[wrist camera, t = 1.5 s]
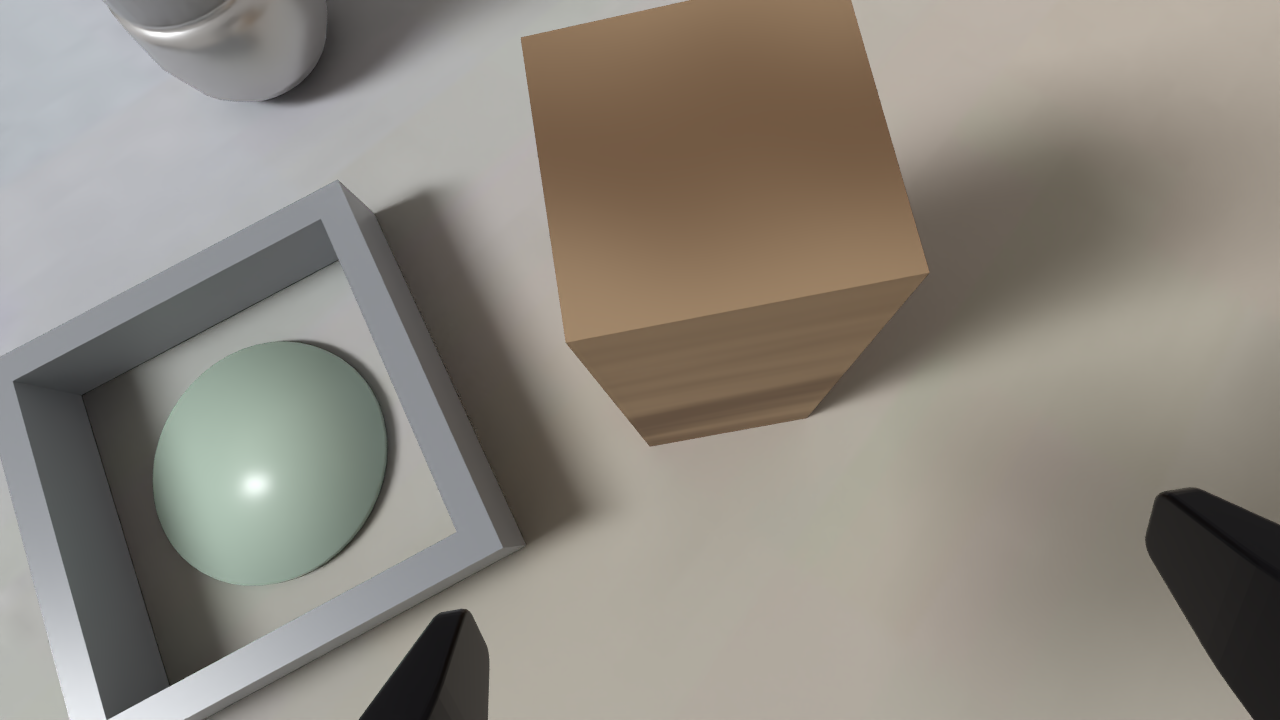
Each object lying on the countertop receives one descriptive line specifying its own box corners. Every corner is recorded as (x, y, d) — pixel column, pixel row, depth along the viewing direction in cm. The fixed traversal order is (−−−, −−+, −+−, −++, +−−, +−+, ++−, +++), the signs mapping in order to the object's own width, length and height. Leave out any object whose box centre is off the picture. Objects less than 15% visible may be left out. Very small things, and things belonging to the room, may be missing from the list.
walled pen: (526, 545, 22) (503, 547, 20) (153, 746, 22) (83, 773, 19) (373, 212, 25) (337, 179, 23) (48, 384, 25) (-23, 369, 23)
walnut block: (806, 417, 22) (929, 272, 9) (650, 446, 22) (565, 342, 10) (772, 270, 23) (841, -34, 11) (624, 299, 24) (520, 37, 11)
